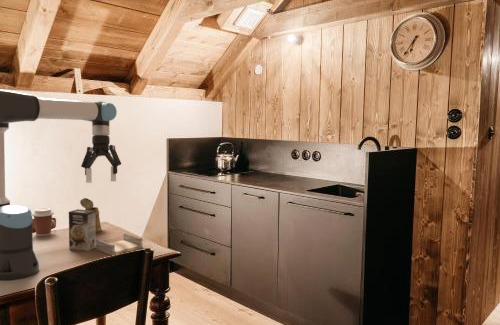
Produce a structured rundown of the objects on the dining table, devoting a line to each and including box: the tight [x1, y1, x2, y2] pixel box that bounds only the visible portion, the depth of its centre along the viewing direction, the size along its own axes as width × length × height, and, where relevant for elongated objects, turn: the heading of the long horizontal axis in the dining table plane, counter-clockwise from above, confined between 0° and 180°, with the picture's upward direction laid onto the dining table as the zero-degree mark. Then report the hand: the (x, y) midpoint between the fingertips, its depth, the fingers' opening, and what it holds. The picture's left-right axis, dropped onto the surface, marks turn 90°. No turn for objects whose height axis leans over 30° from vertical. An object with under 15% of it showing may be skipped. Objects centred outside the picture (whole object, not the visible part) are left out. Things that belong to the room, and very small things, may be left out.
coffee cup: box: [32, 207, 54, 237], centre depth 201 cm, size 9×9×12 cm
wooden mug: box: [79, 197, 102, 233], centre depth 207 cm, size 9×14×18 cm, turn 1°
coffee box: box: [68, 209, 97, 252], centre depth 181 cm, size 9×6×16 cm
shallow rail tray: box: [95, 232, 143, 256], centre depth 182 cm, size 15×12×4 cm
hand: (101, 182), depth 193 cm, fingers open, 13 cm apart
